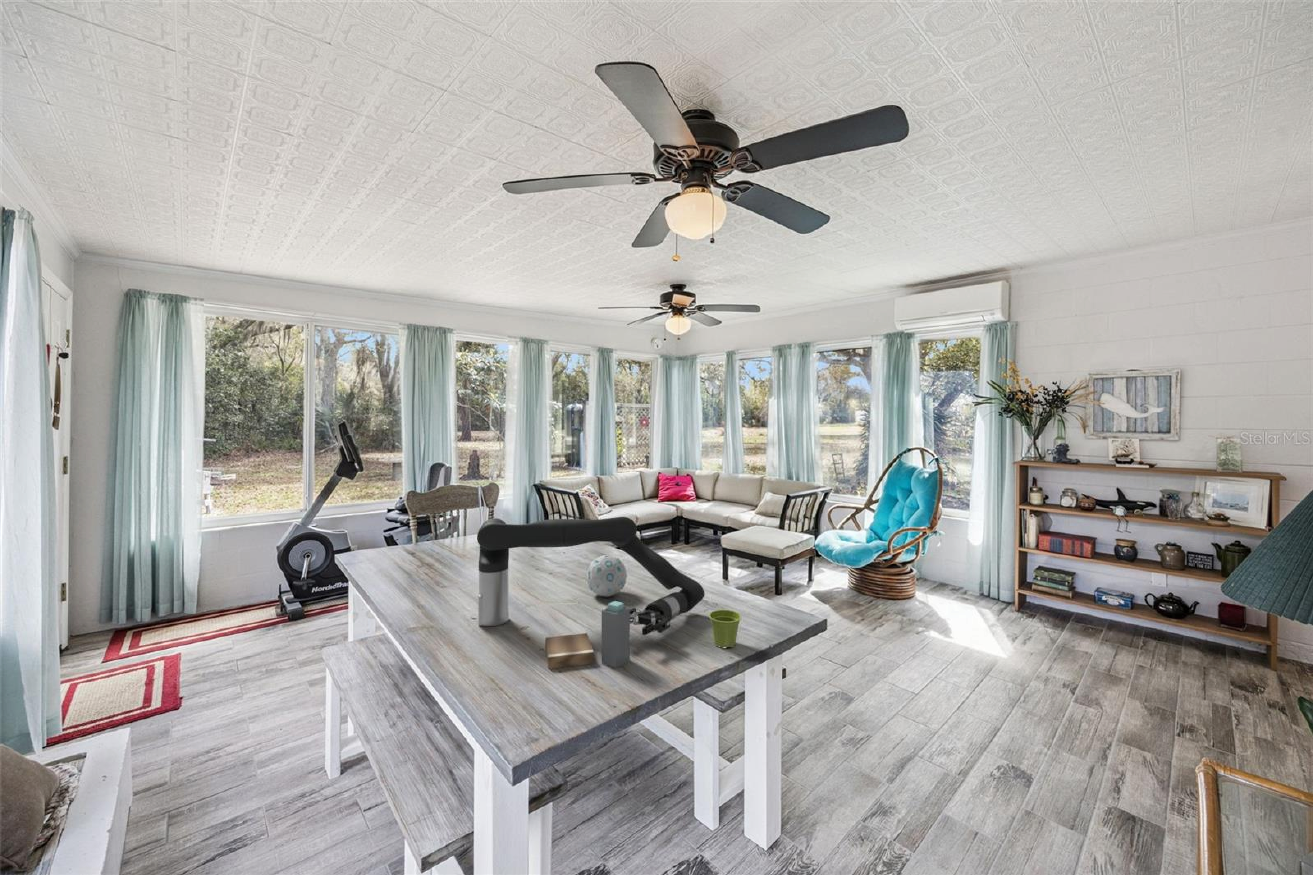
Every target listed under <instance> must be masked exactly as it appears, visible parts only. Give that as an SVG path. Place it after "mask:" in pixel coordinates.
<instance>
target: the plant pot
mask: <svg viewBox="0 0 1313 875" xmlns="http://www.w3.org/2000/svg"><path fill="white" fill-rule="evenodd" d="M708 617H709V619H710V620H709V621H710V623H711V628H712V634H713V642H714V645H715V646H716V647H717V646H720V647H732V648H734V647H735V646H736V644H737V637H738V629H739V624H740V621H741V619H742V615H741V614H740V613H739V612H737V611H734V610H729V609H717V610H713V611H711V612H710V613H709V614H708ZM733 646H734V647H733Z"/></svg>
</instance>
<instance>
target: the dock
mask: <svg viewBox="0 0 1313 875" xmlns="http://www.w3.org/2000/svg"><path fill="white" fill-rule="evenodd" d="M588 635H589V634H588V633H587V632H585V633H576V634H567V635H566V634H565V635H557V636H547V637H545V640H544V641H545V646H544V647H545V654H546V660H547V663H546V664H547V668H548V670H550V669H558V668H565V667H566V668H567V667H568V668H569V667H575V666H581V665H582V666H583V665H591V664H594V661H595V659H594V657H595V656H594V655H595V653H594V652H595V651H594V650H593V647H592V644H591V641H590V638H589V636H588Z"/></svg>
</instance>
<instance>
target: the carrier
mask: <svg viewBox="0 0 1313 875" xmlns="http://www.w3.org/2000/svg"><path fill="white" fill-rule="evenodd" d="M630 609H631V608H630V607H629V606H625V605H624V610H622V611H620V612H618V613H612V612H609V611H608V607H606V608H604V609H602V610H601V664H603V665H606V666H609V667H611V668H614V669H617V668H619V667H621V666H622V665H624V664H625V663H627V662H628V661H630V659H631V658H630V656H631V652H630V650H631V648H630V647H631V645H630V644H631V640H630V637H631V635H630V634H631V630H630V629H631V624H630V621H631V620H630ZM620 665H621V666H620Z"/></svg>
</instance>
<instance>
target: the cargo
mask: <svg viewBox="0 0 1313 875" xmlns="http://www.w3.org/2000/svg"><path fill="white" fill-rule="evenodd" d="M624 606H625V604H624V602H621V601H616V600H614V601H611V602H610V603H607V608H608V611H609V612H612V613H618V612H620V611H622V610H624Z"/></svg>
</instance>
